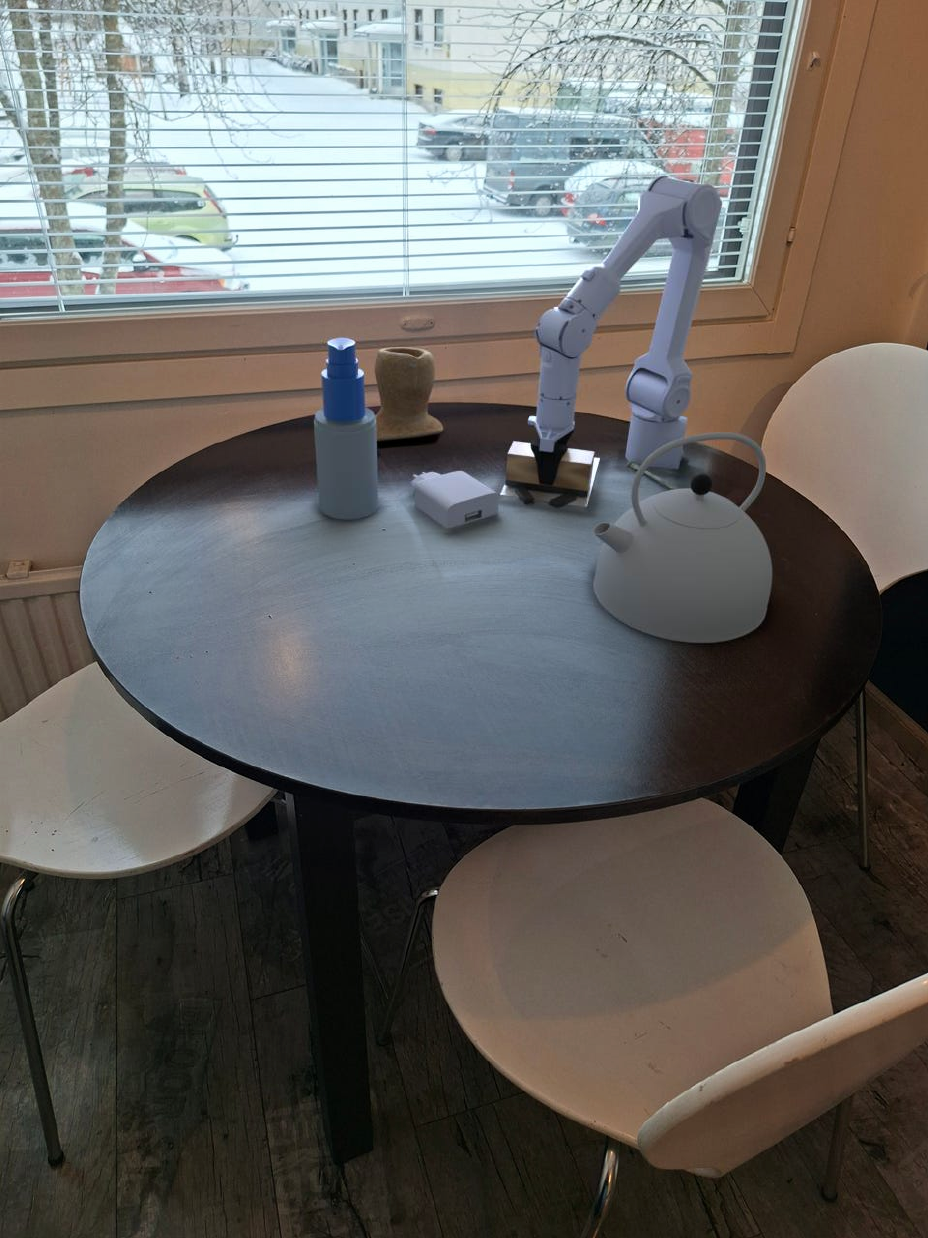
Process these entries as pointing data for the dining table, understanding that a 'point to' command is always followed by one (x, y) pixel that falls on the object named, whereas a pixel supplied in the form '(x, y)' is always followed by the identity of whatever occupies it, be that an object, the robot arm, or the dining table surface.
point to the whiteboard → (551, 495)
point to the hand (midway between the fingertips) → (549, 476)
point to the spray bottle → (345, 438)
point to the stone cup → (404, 393)
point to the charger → (454, 498)
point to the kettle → (686, 560)
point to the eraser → (569, 475)
